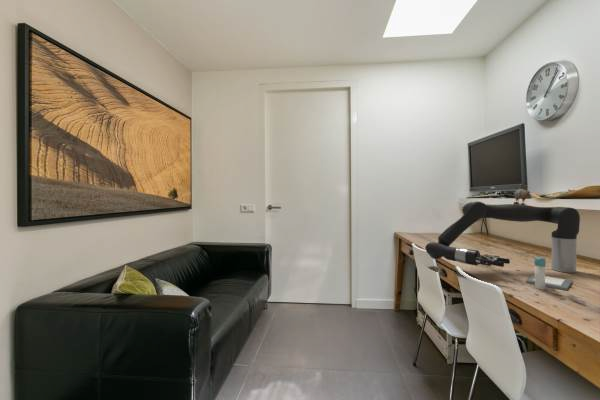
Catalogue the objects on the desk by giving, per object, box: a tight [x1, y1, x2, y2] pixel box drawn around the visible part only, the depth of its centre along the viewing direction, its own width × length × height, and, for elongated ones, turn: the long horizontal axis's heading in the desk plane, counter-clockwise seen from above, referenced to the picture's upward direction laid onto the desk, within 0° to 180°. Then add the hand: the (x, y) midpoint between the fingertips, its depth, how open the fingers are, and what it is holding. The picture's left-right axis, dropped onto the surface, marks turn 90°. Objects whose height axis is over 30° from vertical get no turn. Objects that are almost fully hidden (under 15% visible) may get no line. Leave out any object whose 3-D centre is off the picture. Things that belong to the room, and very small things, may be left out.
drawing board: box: [525, 273, 573, 291], centre depth 118 cm, size 16×13×1 cm
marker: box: [533, 256, 547, 291], centre depth 111 cm, size 4×4×13 cm
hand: (506, 263), depth 120 cm, fingers open, 8 cm apart
